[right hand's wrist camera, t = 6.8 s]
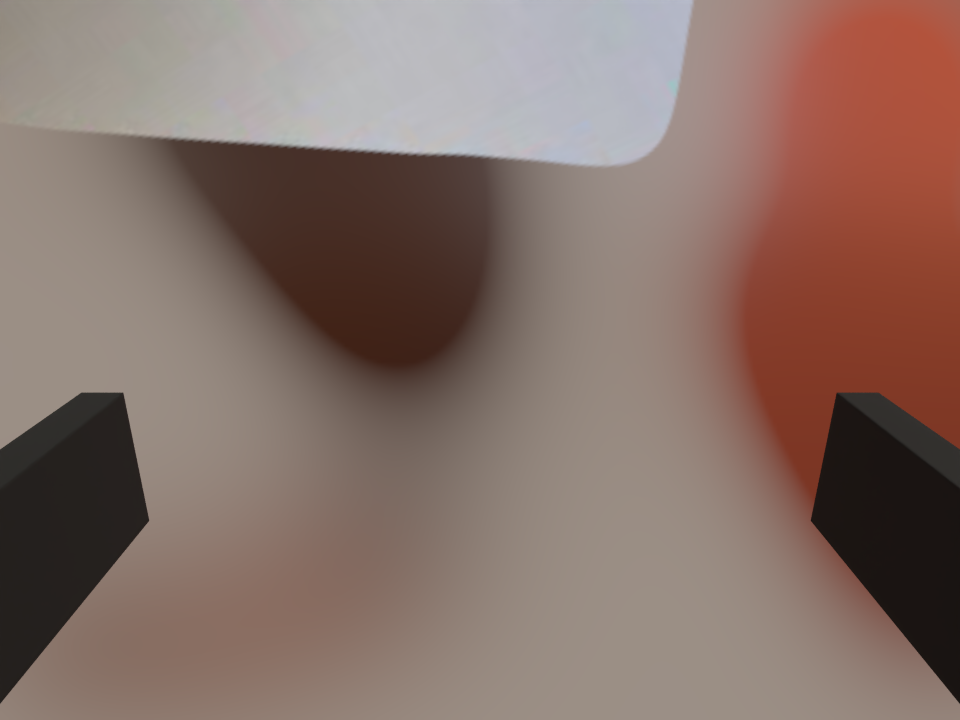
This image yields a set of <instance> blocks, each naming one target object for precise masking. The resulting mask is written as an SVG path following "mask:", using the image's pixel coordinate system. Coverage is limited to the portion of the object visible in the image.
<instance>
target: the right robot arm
mask: <svg viewBox="0 0 960 720" xmlns="http://www.w3.org/2000/svg"><path fill="white" fill-rule="evenodd" d="M148 522H149V517H148V513H147V508H146V503H145V498H144V493H143V488H142V483H141V478H140V473H139V468H138V463H137V458H136V453H135V448H134V443H133V439H132V434H131V429H130V424H129V419H128V414H127V409H126V404H125V399H124V394H123V393H80V394H79V395H78V396H76V397H75V398H73V399H72V400H70V401H69V402H68V403H66V404H65V405H63V406H62V407H60V408H59V409H58V410H56V411H55V412H53V413H52V414H50V415H49V416H48V417H46V418H45V419H43V420H42V421H40V422H39V423H38V424H36V425H35V426H33V427H32V428H30V429H29V430H28V431H26V432H25V433H23V434H22V435H20V436H19V437H18V438H16V439H15V440H13V441H12V442H10V443H9V444H7V445H6V446H5V447H3V448H2V449H0V703H1V702H2V701H3V700H4V698H5V697H6V696H7V695H8V693H9V692H10V691H11V690H12V688H13V687H14V686H15V685H16V684H17V682H18V681H19V680H20V679H21V677H22V676H23V675H24V674H25V673H26V671H27V670H28V669H29V668H30V666H31V665H32V664H33V663H34V661H35V660H36V659H37V658H38V657H39V655H40V654H41V653H42V652H43V650H44V649H45V648H46V647H47V645H48V644H49V643H50V642H51V641H52V639H53V638H54V637H55V636H56V634H57V633H58V632H59V631H60V630H61V628H62V627H63V626H64V625H65V623H66V622H67V621H68V620H69V619H70V617H71V616H72V615H73V614H74V612H75V611H76V610H77V609H78V607H79V606H80V605H81V604H82V603H83V601H84V600H85V599H86V598H87V596H88V595H89V594H90V593H91V591H92V590H93V589H94V588H95V587H96V585H97V584H98V583H99V582H100V580H101V579H102V578H103V577H104V576H105V574H106V573H107V572H108V571H109V569H110V568H111V567H112V566H113V564H114V563H115V562H116V561H117V560H118V558H119V557H120V556H121V555H122V553H123V552H124V551H125V550H126V549H127V547H128V546H129V545H130V544H131V542H132V541H133V540H134V539H135V537H136V536H137V535H138V534H139V533H140V531H141V530H142V529H143V528H144V526H145V525H146V524H147V523H148ZM811 522H812V523H813V524H814V525H815V526H816V528H817V529H818V530H819V531H820V533H821V534H822V535H823V536H824V537H825V539H826V540H827V541H828V542H829V544H830V545H831V546H832V547H833V549H834V550H835V551H836V552H837V553H838V555H839V556H840V557H841V558H842V559H843V561H844V562H845V563H846V564H847V566H848V567H849V568H850V569H851V571H852V572H853V573H854V574H855V576H856V577H857V578H858V579H859V580H860V582H861V583H862V584H863V585H864V587H865V588H866V589H867V590H868V591H869V593H870V594H871V595H872V596H873V598H874V599H875V600H876V601H877V603H878V604H879V605H880V606H881V607H882V609H883V610H884V611H885V612H886V614H887V615H888V616H889V617H890V618H891V620H892V621H893V622H894V623H895V625H896V626H897V627H898V628H899V630H900V631H901V632H902V633H903V634H904V636H905V637H906V638H907V639H908V641H909V642H910V643H911V644H912V646H913V647H914V648H915V649H916V650H917V652H918V653H919V654H920V655H921V656H922V658H923V659H924V660H925V661H926V663H927V664H928V665H929V666H930V668H931V669H932V670H933V671H934V673H935V674H936V675H937V676H938V677H939V679H940V680H941V681H942V682H943V684H944V685H945V686H946V687H947V688H948V690H949V691H950V692H951V693H952V695H953V696H954V697H955V698H956V700H957V701H958V702H959V703H960V449H958V448H957V447H955V446H954V445H953V444H951V443H950V442H948V441H947V440H945V439H944V438H943V437H941V436H940V435H938V434H937V433H935V432H934V431H932V430H931V429H930V428H928V427H927V426H925V425H924V424H922V423H921V422H920V421H918V420H917V419H915V418H914V417H912V416H911V415H910V414H908V413H907V412H905V411H904V410H902V409H901V408H900V407H898V406H897V405H895V404H894V403H892V402H891V401H890V400H888V399H887V398H885V397H884V396H882V395H881V394H880V393H837V394H836V399H835V404H834V409H833V414H832V419H831V424H830V429H829V434H828V439H827V443H826V448H825V453H824V458H823V463H822V468H821V473H820V478H819V483H818V488H817V493H816V498H815V503H814V508H813V512H812V517H811Z"/></svg>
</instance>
